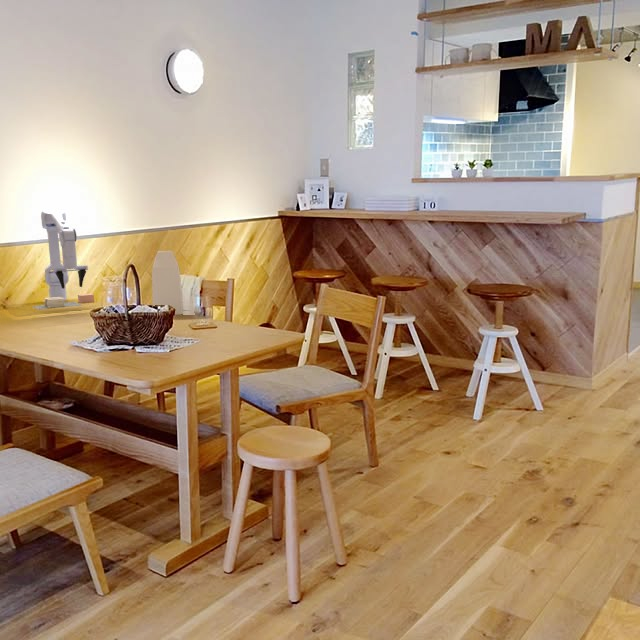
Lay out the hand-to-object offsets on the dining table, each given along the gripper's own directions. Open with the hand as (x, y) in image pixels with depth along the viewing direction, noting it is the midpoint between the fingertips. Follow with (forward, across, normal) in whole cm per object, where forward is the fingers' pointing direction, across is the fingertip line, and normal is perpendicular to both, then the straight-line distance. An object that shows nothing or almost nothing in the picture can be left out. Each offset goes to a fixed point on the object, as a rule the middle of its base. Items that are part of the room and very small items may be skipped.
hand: (72, 287), depth 323 cm
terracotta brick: (+10, +9, +13) cm, 19 cm away
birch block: (+9, -6, +9) cm, 14 cm away
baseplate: (+10, -5, +10) cm, 15 cm away
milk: (+10, +30, -37) cm, 49 cm away
